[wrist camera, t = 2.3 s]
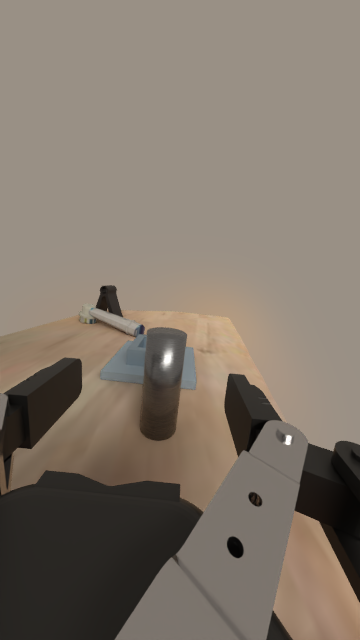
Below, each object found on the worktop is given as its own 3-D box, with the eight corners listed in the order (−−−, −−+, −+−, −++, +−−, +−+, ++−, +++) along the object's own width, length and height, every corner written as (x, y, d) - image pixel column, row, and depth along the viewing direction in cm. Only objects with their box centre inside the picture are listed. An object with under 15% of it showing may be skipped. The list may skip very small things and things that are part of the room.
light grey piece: (135, 326, 54) (76, 300, 64) (131, 348, 56) (74, 319, 66) (147, 323, 58) (90, 299, 69) (143, 343, 60) (88, 317, 70)
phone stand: (92, 317, 72) (92, 284, 70) (101, 315, 78) (102, 284, 76) (114, 321, 71) (116, 287, 68) (122, 318, 77) (124, 286, 74)
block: (100, 379, 33) (100, 354, 32) (127, 346, 49) (128, 328, 48) (195, 389, 33) (198, 364, 32) (192, 353, 49) (194, 336, 48)
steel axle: (136, 438, 22) (142, 336, 20) (144, 412, 27) (150, 325, 24) (174, 442, 22) (186, 341, 20) (176, 415, 27) (186, 329, 24)
